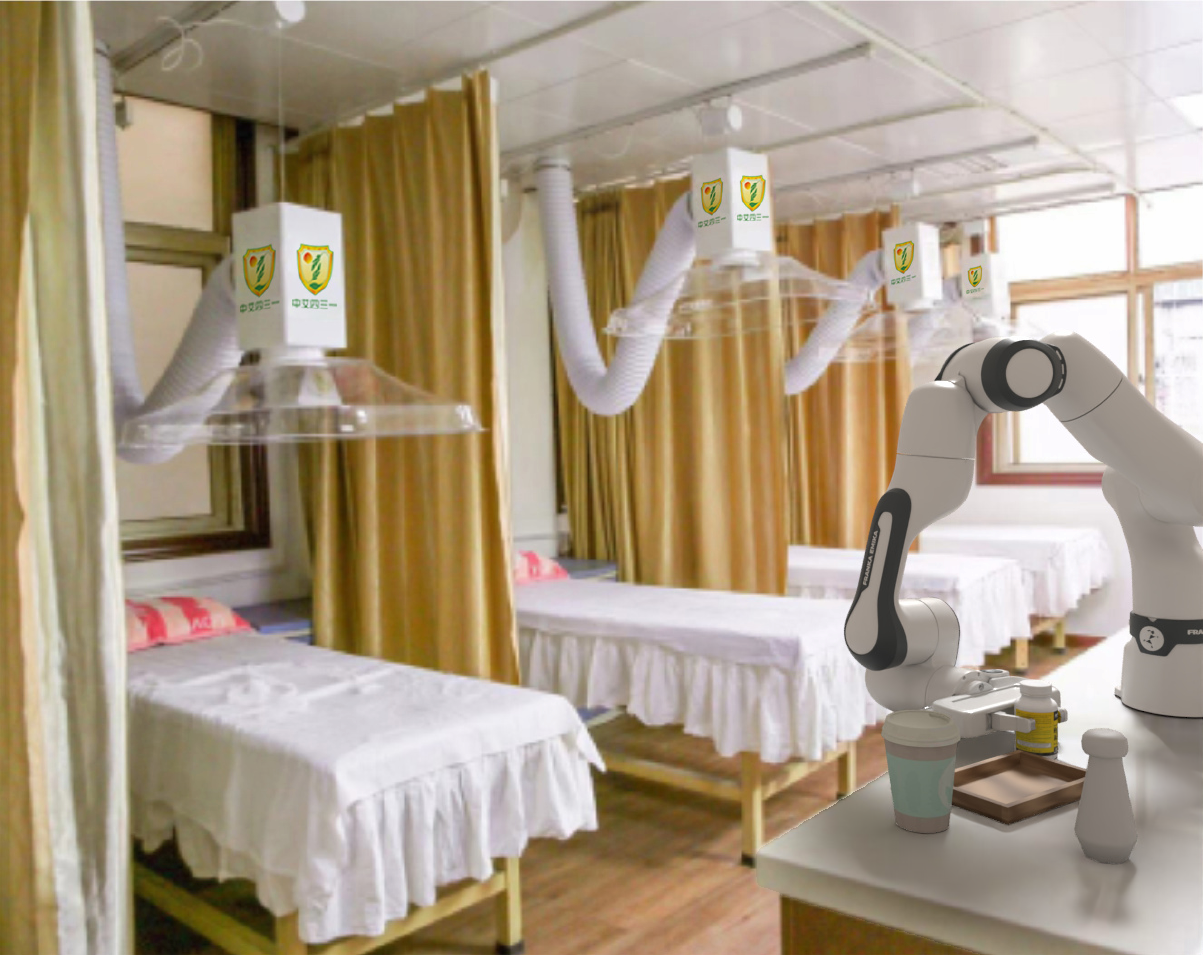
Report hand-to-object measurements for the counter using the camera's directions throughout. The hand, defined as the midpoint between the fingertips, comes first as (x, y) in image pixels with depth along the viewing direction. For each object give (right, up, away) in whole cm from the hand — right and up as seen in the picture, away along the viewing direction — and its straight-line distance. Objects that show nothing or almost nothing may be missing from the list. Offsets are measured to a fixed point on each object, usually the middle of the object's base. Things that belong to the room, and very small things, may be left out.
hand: (1048, 721), depth 138 cm
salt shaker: (-7, -7, -30) cm, 32 cm away
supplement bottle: (-1, -5, +2) cm, 6 cm away
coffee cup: (-23, -7, -20) cm, 31 cm away
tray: (-9, -6, -11) cm, 16 cm away
